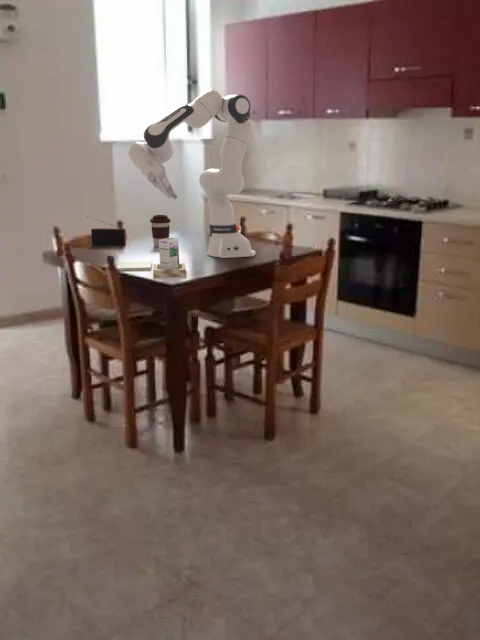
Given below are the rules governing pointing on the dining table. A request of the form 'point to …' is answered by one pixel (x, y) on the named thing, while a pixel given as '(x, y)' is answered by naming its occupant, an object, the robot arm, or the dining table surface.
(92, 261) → the dining table surface
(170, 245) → the syrup box
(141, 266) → the sage mat
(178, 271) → the birch holder
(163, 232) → the coffee cup
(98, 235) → the radio
